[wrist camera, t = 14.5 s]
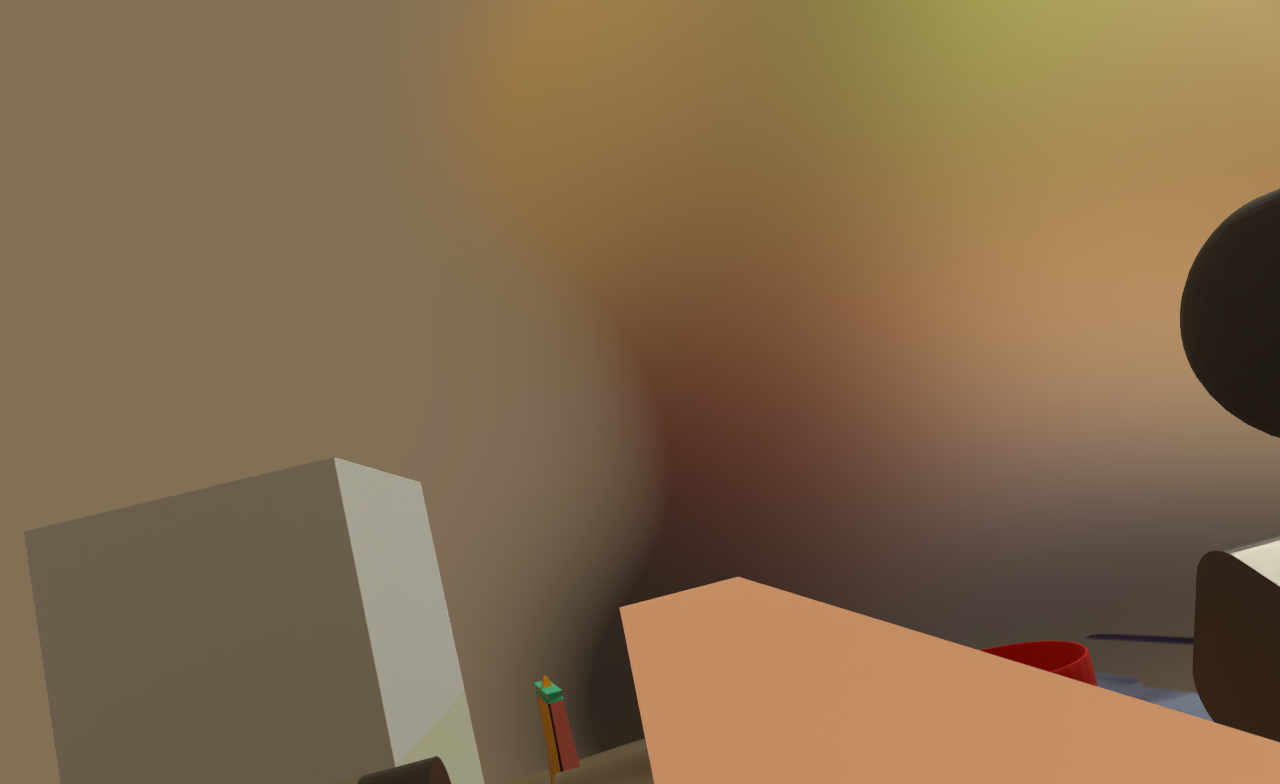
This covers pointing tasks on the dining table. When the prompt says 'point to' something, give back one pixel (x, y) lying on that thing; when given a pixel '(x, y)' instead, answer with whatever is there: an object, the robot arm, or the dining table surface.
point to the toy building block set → (556, 728)
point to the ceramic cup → (1051, 658)
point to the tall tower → (251, 635)
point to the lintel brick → (890, 705)
